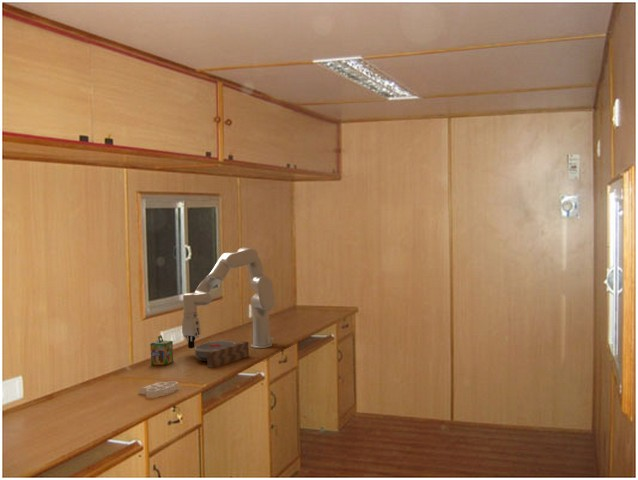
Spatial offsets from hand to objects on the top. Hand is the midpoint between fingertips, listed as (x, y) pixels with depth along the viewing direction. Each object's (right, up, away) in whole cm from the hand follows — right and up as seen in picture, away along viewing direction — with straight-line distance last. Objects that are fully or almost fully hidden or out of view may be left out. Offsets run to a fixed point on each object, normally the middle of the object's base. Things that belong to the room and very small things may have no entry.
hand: (191, 347), depth 384 cm
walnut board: (+23, -5, -17) cm, 29 cm away
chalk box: (-12, -6, -18) cm, 22 cm away
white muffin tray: (0, -9, -75) cm, 75 cm away
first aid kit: (+15, -5, -10) cm, 18 cm away
